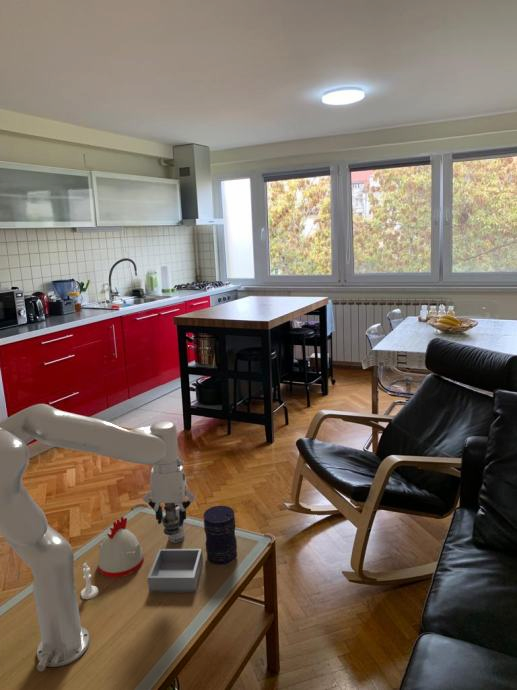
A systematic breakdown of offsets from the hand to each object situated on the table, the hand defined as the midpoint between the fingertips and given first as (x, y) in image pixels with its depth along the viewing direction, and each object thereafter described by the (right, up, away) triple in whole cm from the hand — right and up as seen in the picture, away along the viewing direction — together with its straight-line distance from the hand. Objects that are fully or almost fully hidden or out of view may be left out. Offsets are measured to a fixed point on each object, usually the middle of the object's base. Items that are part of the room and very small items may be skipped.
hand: (171, 520), depth 153 cm
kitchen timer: (-18, -18, +13) cm, 28 cm away
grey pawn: (0, -3, +1) cm, 3 cm away
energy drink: (-2, -14, +24) cm, 28 cm away
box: (+1, -19, +4) cm, 19 cm away
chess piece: (-24, -21, -1) cm, 32 cm away
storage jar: (+14, -16, +14) cm, 25 cm away
